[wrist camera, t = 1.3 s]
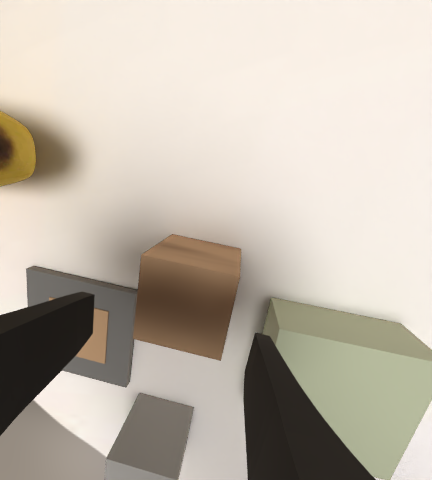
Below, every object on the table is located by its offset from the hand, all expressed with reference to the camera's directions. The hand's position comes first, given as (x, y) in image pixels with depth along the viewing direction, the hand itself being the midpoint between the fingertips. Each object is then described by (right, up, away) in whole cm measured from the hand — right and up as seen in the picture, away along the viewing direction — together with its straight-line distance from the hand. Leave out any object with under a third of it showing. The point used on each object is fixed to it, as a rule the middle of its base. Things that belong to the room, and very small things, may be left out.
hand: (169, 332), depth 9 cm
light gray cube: (-3, -12, +11) cm, 17 cm away
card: (-9, -3, +9) cm, 13 cm away
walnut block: (+1, +2, +7) cm, 7 cm away
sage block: (+10, -5, +7) cm, 13 cm away
